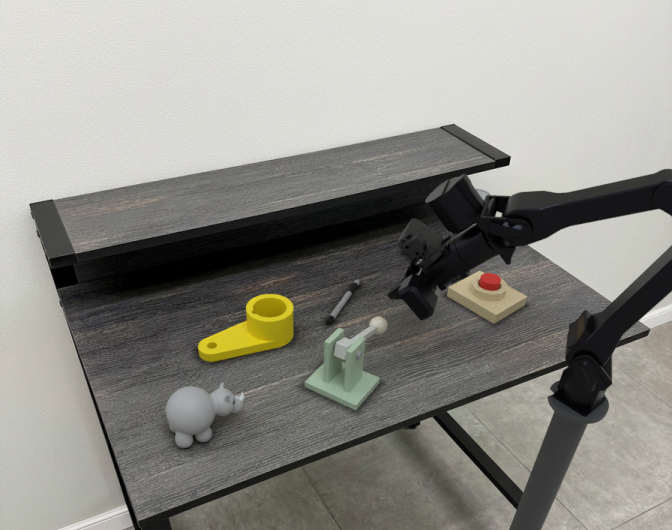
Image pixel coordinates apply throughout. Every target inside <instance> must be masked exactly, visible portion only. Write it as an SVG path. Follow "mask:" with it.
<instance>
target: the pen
mask: <svg viewBox="0 0 672 530" xmlns="http://www.w3.org/2000/svg"><path fill="white" fill-rule="evenodd" d="M360 280H361V279H358V278H357V279H354V281H353V282H352V284H350V287H349V288H348V290H346V292H345V294H344V295H343V297H341V299H340V300H339V302H338V303H337V305H336V306H335V307H334V309H333V310H332V312H331V313H329V315H328V317H327V318H326V321H325V324H327V325H331V324H332V323H333V322H334V321H335V319H336V318H337V316H338V315H339V314H340V312H341V311H342V309H343V308H344V307H345V305H346V304H347V303H348V301H349V299H350V298H351V296H352V295H353V294H354V292H355V291H356V290H357V288H358V287H359V285H361V283H360Z"/></svg>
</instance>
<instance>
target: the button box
mask: <svg viewBox="0 0 672 530" xmlns="http://www.w3.org/2000/svg"><path fill="white" fill-rule="evenodd" d="M485 273H486V272H483V271H482V270H478V271H476V272H474V273H473V274H472V273H471V275H469V276H468V277H467V278H465V279H461V280H459V281H457V282H455V283H454V284H451V285H450V286H447V293H446V296H447V298H450V299H451V300H453V301H454V302H456V303H458V304H459V305H461V306H463V307H464V308H466V309H468V310H469V311H471V312H473V313H474V314H476V315H477V316H480V317H481V318H483V319H484V320H486V321H488V322H490V323H491V324H492V325H495V324H497V323H498V322H500V321H501V320H503V319H505V318H507V317H509V315H512V314H513V313H515V312H517V311H518V310H519V309H521V308H523V307H525V306H526V303H527V300H528V296H527V295H526V294H524V293H522V292H521V291H518V290H517V289H514V288H513V287H511V286H510V285H508V284H507V282H506V281H505V280H504V279H502V278H501V283H500V287H499V289H498V290H496V291H489V290H485V289H483V288H481V287H480V286H479V282H480V277H481V275H482V274H485Z"/></svg>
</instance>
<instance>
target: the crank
mask: <svg viewBox="0 0 672 530" xmlns="http://www.w3.org/2000/svg"><path fill="white" fill-rule="evenodd" d="M245 313H246V314H245V315H246V320H245V321H243V322H240V323H237V324H234V325H233V326H231V327H228V328H226V329H223V330H222V331H219V332H217V333H215V334H212V335H210V336H208V337H206V338H203V339H202V340H200V341H199V343H198V345H197V349H198V356H199V358H200V359H201V360H203V361H205V362H209V363H210V362H211V363H213V362H218V361H223V360H228V359H232V358H236V357H241V356H246V355H250V354H255V353H260V352H264V351H269V350H273V349H279V348H281V347H284V346H286V345H287V344H289V343H290V342H291V341H292V340H293V338H294V335H295V334H294V333H295V332H294V330H295V329H294V325H295V324H294V304H293V302H292V301H291V300H290V299H289V298H287V297H286V296H283V295H281V294H277V293H276V294H275V293H264V294H259V295H257V296H254V297H253V298H251V299H250V300H248V301H247V303H246V306H245Z"/></svg>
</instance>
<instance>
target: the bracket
mask: <svg viewBox="0 0 672 530" xmlns="http://www.w3.org/2000/svg"><path fill="white" fill-rule="evenodd" d="M344 337H345V329H344V328H341V327H338V328H337V329H336V330H335V331H334V332H332V333H331V334H330V335H329V337H328V338H327V339H325V340H324V345H323V346H324V347H323V348H324V349H323V363H322V364H321V365H320V366H319V367H318V368H317V369H315V371H314V372H313V373H312V374H311V375H310V376H309V377H308V378H307V379H306V380H304V388H306V389H308V390H310V391H313V392H315V393H317V394H319V395H321V396H323V397H325V398H328V399H329V400H332V401H334V402H336V403H339V404H341V405H343V406H345V407H347V408H349V409H352V410H354V411H357V410H358V409H359V408H360V406H362V404H363V403H364V402H365V400H366V399H368V398H369V396H370V395H371V394H372V393H373V392H374V390H375V389H376V388H377V387H378V386H379V384H380V382H381V377H379V376H376V375H374V374H372V373H370V372H367V371H365V370H363V369H364V359H365V348H366V340H365V338H363V337H361V336H360V337H359V338H358V339H357V340H356V341H355V342H354V343H353V344H352V345H351V346H350V347H349V348H348V349H347V350H346V360H345V361H343V359H341V358H338V357H336V356H334V350H335V344H336V342H337V341H339V340H341V339H342V338H344Z"/></svg>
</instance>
